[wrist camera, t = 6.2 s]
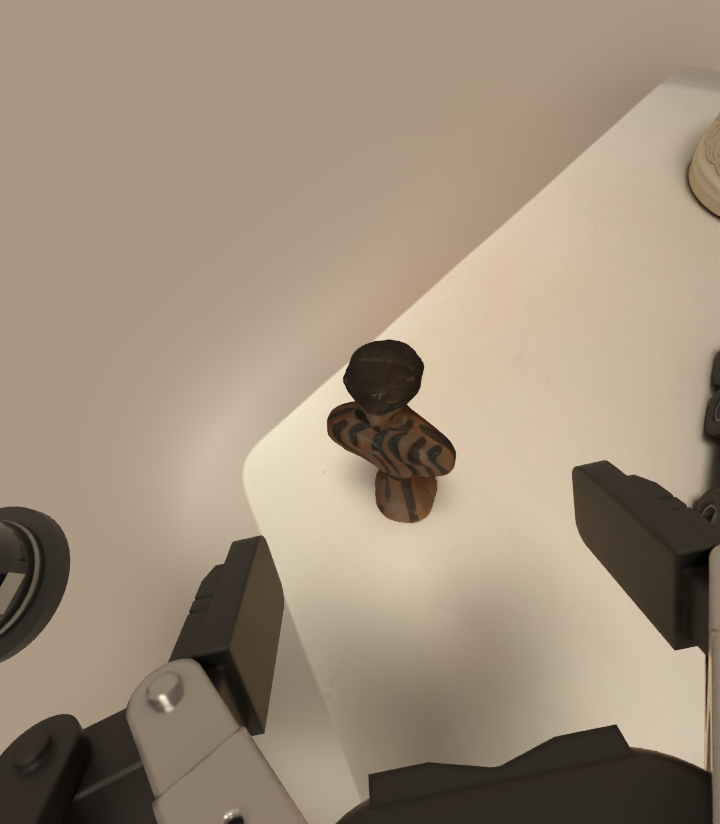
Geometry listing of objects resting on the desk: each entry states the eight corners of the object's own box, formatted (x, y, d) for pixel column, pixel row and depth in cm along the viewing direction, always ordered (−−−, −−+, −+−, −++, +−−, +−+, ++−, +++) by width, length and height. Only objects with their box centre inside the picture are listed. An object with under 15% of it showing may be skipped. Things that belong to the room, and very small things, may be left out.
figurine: (341, 502, 34) (264, 393, 18) (363, 442, 36) (312, 292, 19) (438, 535, 32) (452, 446, 16) (457, 470, 34) (487, 329, 18)
